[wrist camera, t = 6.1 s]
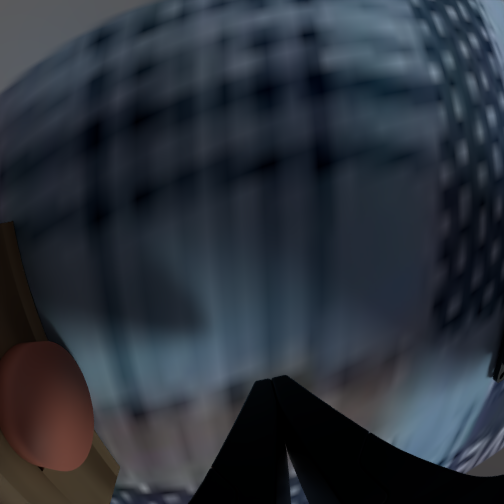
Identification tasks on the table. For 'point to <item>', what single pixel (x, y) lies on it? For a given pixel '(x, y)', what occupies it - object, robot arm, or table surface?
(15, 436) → the pin
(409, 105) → the table surface
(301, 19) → the table surface
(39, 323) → the block
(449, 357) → the table surface
